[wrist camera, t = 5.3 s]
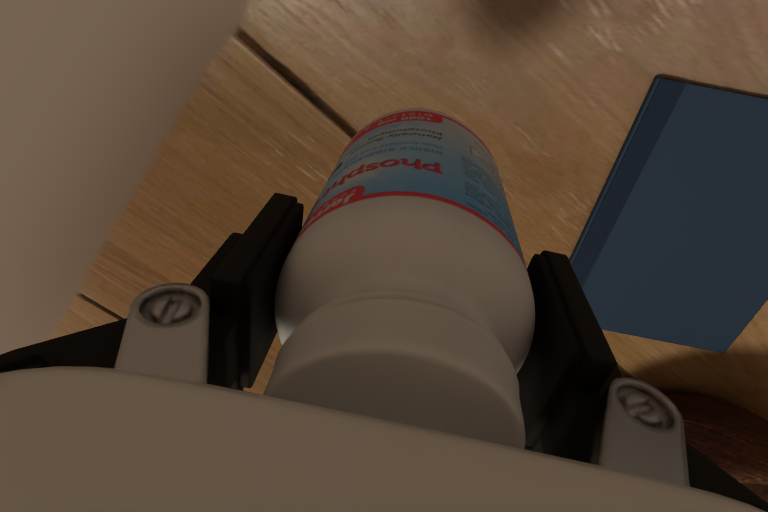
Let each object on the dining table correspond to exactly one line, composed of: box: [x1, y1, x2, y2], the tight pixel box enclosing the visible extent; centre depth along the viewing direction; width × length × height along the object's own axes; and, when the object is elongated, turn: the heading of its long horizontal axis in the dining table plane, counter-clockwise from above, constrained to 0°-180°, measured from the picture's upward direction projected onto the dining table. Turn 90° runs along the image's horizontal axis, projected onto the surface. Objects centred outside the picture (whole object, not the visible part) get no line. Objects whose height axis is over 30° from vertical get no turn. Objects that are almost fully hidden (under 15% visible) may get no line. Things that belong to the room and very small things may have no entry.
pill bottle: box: [263, 108, 535, 449], centre depth 12 cm, size 6×6×11 cm
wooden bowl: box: [662, 392, 768, 503], centre depth 42 cm, size 25×25×10 cm
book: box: [569, 77, 768, 353], centre depth 33 cm, size 20×16×1 cm
